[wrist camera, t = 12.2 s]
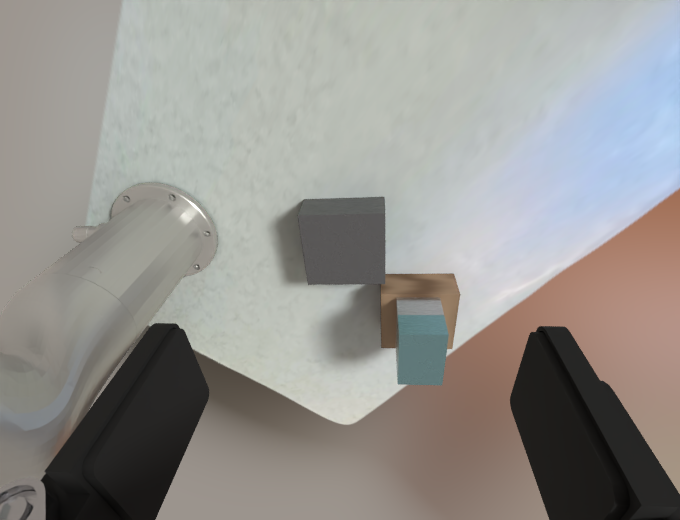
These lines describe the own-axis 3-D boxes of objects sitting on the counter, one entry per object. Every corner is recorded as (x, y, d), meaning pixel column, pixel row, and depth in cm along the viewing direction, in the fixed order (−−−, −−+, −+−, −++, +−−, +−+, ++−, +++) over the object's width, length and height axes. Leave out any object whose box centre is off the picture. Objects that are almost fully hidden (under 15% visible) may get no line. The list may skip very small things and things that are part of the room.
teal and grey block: (396, 297, 42) (399, 334, 37) (440, 297, 42) (448, 335, 37) (395, 345, 47) (397, 384, 42) (434, 345, 46) (442, 385, 41)
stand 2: (381, 326, 50) (381, 347, 47) (380, 274, 45) (380, 294, 42) (447, 326, 49) (452, 348, 46) (453, 273, 44) (460, 294, 41)
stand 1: (312, 265, 46) (307, 284, 42) (304, 199, 41) (297, 215, 37) (384, 264, 45) (385, 284, 41) (384, 196, 40) (385, 213, 36)
